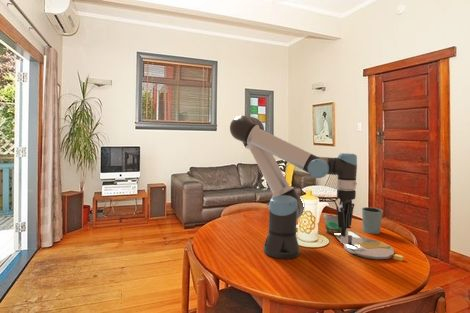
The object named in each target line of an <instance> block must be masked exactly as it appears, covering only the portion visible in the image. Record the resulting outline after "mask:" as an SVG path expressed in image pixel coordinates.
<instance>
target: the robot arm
mask: <svg viewBox="0 0 470 313" xmlns="http://www.w3.org/2000/svg"><path fill="white" fill-rule="evenodd" d="M229 132H230V134H231V136H232V137H233V139H235V140H237V141H239V142H242V144H243V146H244V147H245V149H247V150H249V151H250V153H251V155H252V156H253V158H254V160H255V162H256V164H257V166H258V168H259V170H260V172H261V173H262V176H263V177H264V179H265V181H266V183H267V185H268V187H269V189H270V191H271V193H272V195H271V198H270V199H269V205H268V233H267V236H266V238H265V242H264V245H263V252H264V254H265V255H267V256H268V257H271V258H275V259H280V260H289V259H291V260H292V259H295V258H297V257H299V256H300V250H301V249H300V245H299V241H298V238H297V223H298V222H297V220H298V219H299V218H300V217H301V216H302V215H303V213H304V211H305V206H304V207H303V203H302V201H301V199H300V197H301V198H302V196H301V195H299V194H298V193H297V191H296V189H295V187H294V186H291V185H290V184H289V183H288V180H287V179H286V176H284V173H283V172H282V169H281V168H280V165H279V164H278V162H277V161H276V158H275V157H277V158H278V159H281V160H283V161H284V162H287V163H289V164H291V165H293V166H294V167H295V168H299V169H301V170H302V171H304V172H306V173H308V174H309V176H311V177H312V178H314V179H321V178H324V177H326V176H327V175H331V176H333V175H334V176H337V180H336V182H337V184H336V188H337V190H336V197H337V199H339V206H336V212H337V214H336V215H338V227H339V228H341V236H340V241H339V242H340V243H341V244H343V245H344V244H348V235H349V229H351V228H352V222H353V221H352V220H353V213H354V207H355V203H353V200H355V199H356V193H357V191H356V189H357V185H358V182H357V169H358V156H357V154H355V153H348V152H347V153H346V152H345V153H343V152H342V153H340V152H339V153H338V157H327V156H326V157H325V156H317V155H315V154H312V153H311V152H309V151H307V150H304V149H302V148H301V147H298V146H296V145H294V144H292V143H290V142H288V141H286V140H284V139H282V138H280V137H278V136H276V135H273V134H271V133H269V132H267V131H265V126H264V124H263V122H262V121H261V120H260V119H258V118H256V117H253V116H247V115H238V116H235V117H234V118H233V119H232V120H231V122H230V125H229ZM274 156H275V157H274ZM303 210H304V211H303Z"/></svg>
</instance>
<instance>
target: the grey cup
mask: <svg viewBox="0 0 470 313" xmlns="http://www.w3.org/2000/svg"><path fill="white" fill-rule="evenodd" d="M361 214H362V216H361V217H362V231H363V232H364V233H368V234H370V235H371V234H373V235H377V234H380V233H381V225H382V219H383V218H382V217H383V214H384V211H383V210H382V209H380V208H377V207H370V206H369V207H368V206H367V207H365V206H364V207H362V208H361Z"/></svg>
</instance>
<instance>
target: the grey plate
mask: <svg viewBox="0 0 470 313" xmlns="http://www.w3.org/2000/svg"><path fill="white" fill-rule="evenodd" d="M343 248H344V250H345V251H346V252H348V253H349V254H351V255H355V256H357V257H361V258H365V259H370V260H389V259H393V258H394V253H395V250H394V248H393V247H392V245H390V244H388V243H386V242H383V241H381V240H377V239H371V238H366V237H353V235H351V234H348V244H344V243H343Z"/></svg>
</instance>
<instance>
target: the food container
mask: <svg viewBox="0 0 470 313" xmlns="http://www.w3.org/2000/svg"><path fill="white" fill-rule="evenodd" d="M323 218H324V222H325V225H324V226H325V233H326V234H327V235H331V236H334V233H341V228H339V227H338V214H327V213H324V214H323Z"/></svg>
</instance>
